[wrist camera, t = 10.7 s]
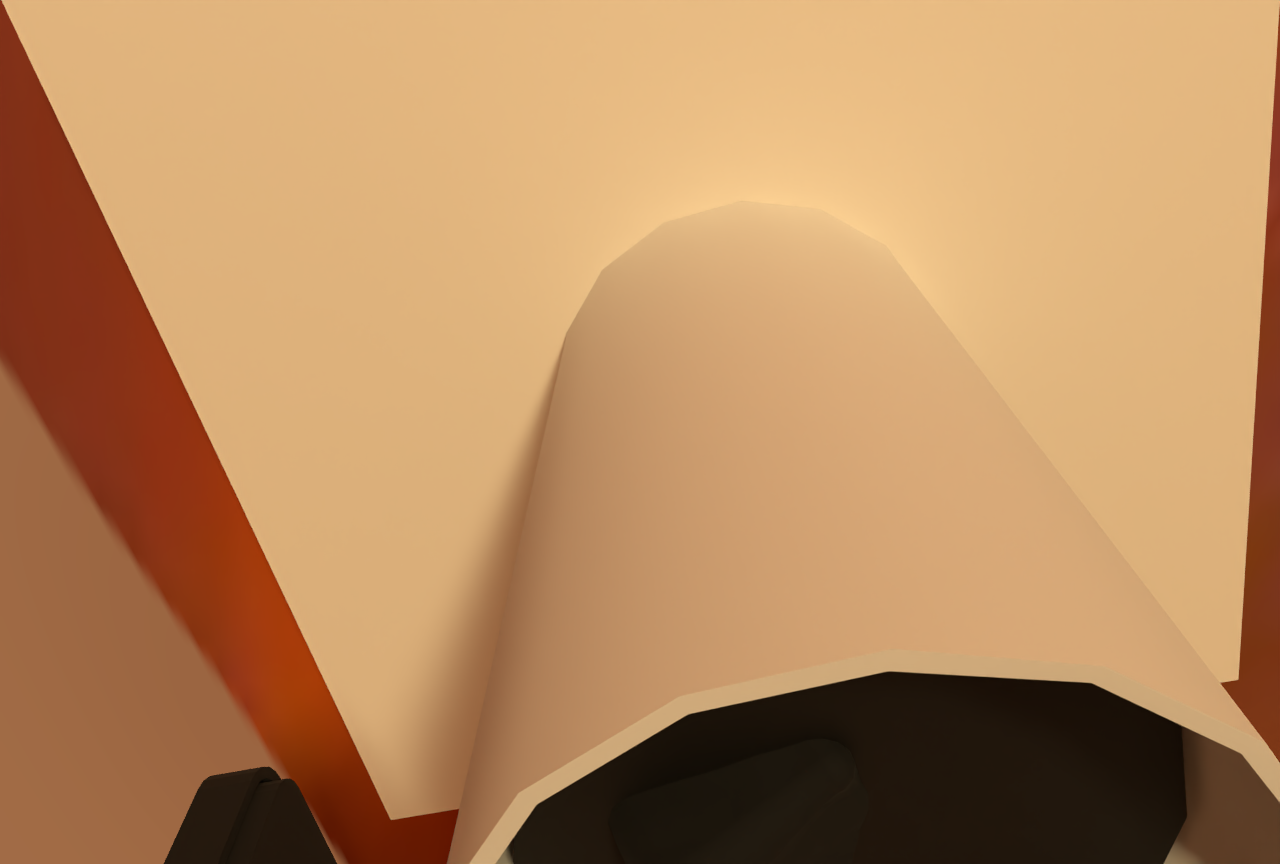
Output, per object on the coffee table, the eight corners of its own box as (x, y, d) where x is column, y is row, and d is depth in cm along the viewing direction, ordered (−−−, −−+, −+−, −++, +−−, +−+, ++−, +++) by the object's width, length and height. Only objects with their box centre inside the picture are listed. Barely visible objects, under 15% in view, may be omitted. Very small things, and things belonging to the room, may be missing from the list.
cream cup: (653, 617, 19) (675, 1296, 10) (447, 298, 16) (234, 871, 7) (1025, 463, 18) (1417, 1102, 9) (872, 83, 15) (1233, 478, 6)
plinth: (1178, 594, 22) (1238, 680, 20) (412, 727, 24) (390, 820, 21) (1200, -364, 14) (1303, -395, 12) (64, -73, 16) (-25, -55, 14)
